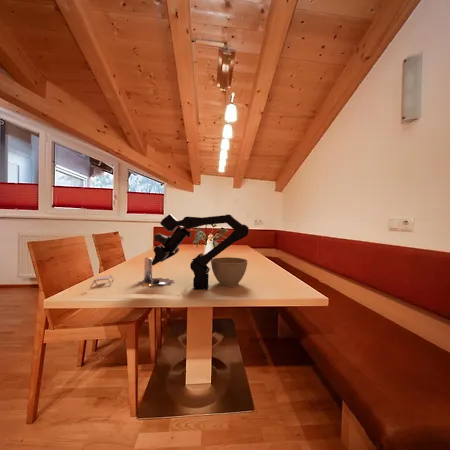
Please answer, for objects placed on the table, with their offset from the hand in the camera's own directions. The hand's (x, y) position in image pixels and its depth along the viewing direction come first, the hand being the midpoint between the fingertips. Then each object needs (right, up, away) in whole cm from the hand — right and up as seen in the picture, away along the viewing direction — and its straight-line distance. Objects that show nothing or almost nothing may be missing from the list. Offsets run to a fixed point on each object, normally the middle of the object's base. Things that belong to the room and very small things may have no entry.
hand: (156, 263), depth 115 cm
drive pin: (-5, -9, +1) cm, 10 cm away
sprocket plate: (0, -10, -1) cm, 10 cm away
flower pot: (+35, -11, +5) cm, 37 cm away
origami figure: (-21, -10, -7) cm, 24 cm away
